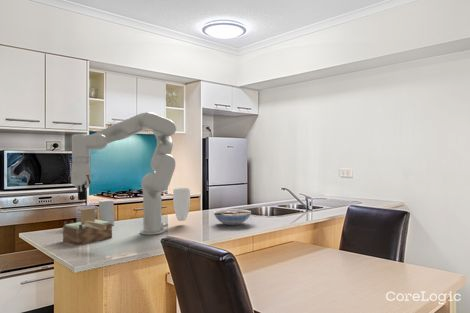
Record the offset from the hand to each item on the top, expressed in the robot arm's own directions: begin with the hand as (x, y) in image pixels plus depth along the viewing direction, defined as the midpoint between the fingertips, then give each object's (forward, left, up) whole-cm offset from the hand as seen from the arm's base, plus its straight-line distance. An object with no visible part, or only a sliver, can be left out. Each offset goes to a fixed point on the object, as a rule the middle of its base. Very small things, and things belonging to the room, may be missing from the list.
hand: (82, 199), depth 168 cm
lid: (-6, -4, -13) cm, 15 cm away
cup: (-59, +7, -21) cm, 62 cm away
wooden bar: (0, +11, -12) cm, 17 cm away
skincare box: (-33, -29, -21) cm, 48 cm away
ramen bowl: (-78, +30, -21) cm, 86 cm away
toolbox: (-6, -4, -20) cm, 21 cm away
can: (-23, -33, -21) cm, 45 cm away
